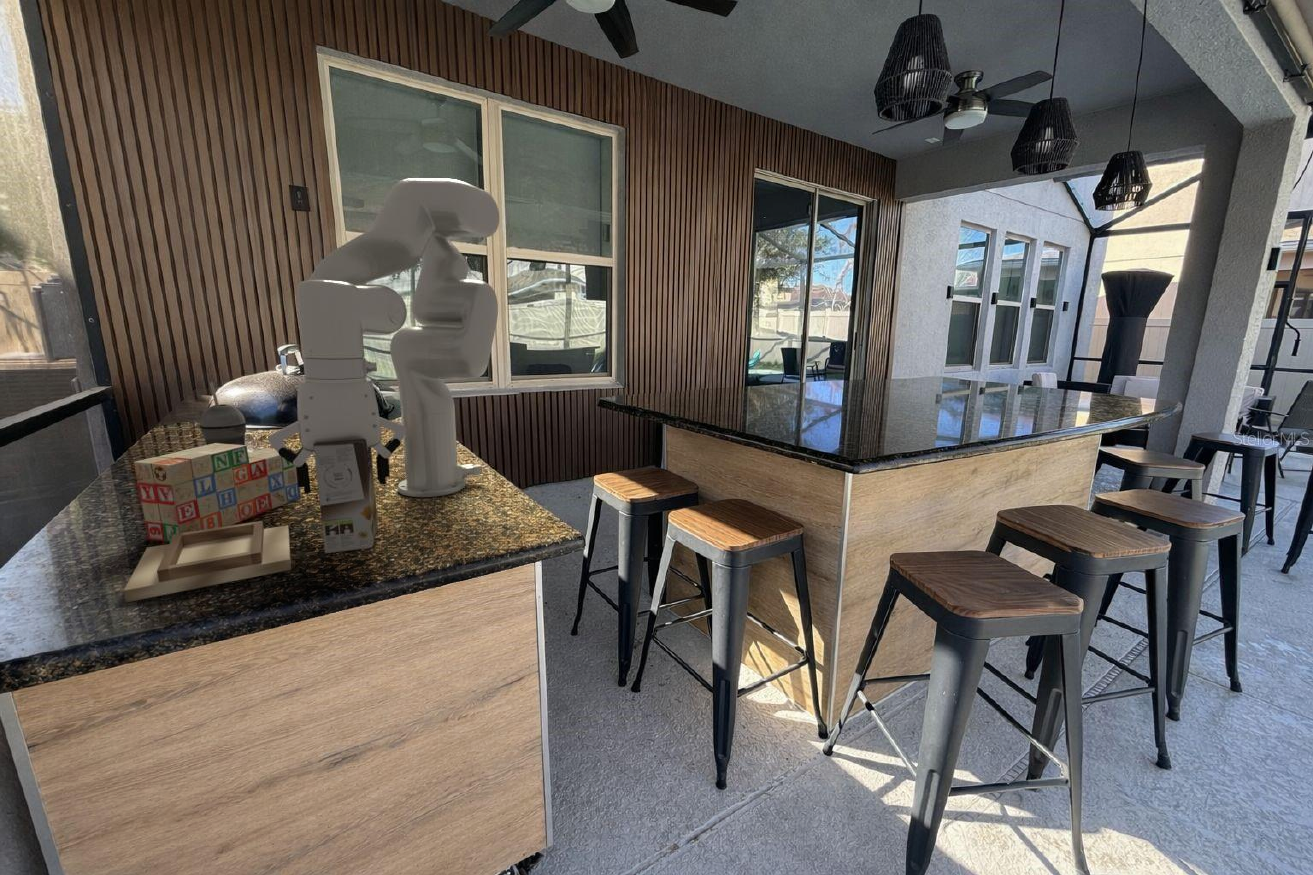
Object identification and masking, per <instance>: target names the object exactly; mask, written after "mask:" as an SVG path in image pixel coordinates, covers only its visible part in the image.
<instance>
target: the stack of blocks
mask: <svg viewBox="0 0 1313 875" xmlns="http://www.w3.org/2000/svg"><path fill="white" fill-rule="evenodd" d="M291 450H292V451H294V452H295V450H293V449H291ZM295 453H296V452H295ZM133 464H134V465H133V466H134V470H135V474H136V486H137V491H138V496H139V497H138V498H139V500H140V502H141V507H142V508H141V509H142V512H143V517H144V524H145V527H146V528H145V529H146V533H147V534H146V535H147V538H148V540H152V541H160V542H167V543H170V541H171V539H172V537H173V535H174V534H178V533H185V532H192V531H198V530H205V529H211V528H218V527H225V526H231V525H236V524H238V523H240V522H242V521H244V520H246V519H250V518H253V517H255V516H257V515H259V514H262V513H265V512H267V511H269V510H273V509H275V508H278V507H281V506H283V505H285V504H289V503H291V502H294V501H296V500H300V499H301V497H302V496H301V487H298V482H297V472H296V466H294V465H293V464H292V463H290V462H289V461H287V460H286V459H284V458H283V457H281V456H280V455H279V453H278V452H277V451H276V450H275V449H274V448H269V447H268V448H267V447H266V448H262V449H257V450H254V451H248V445H246V444H245V445H234V444H220V443H214V444H209V445H207V444H205V445H200V446H196V447H191V448H187V449H183V450H180V451H176V452H171V453H167V454H164V455H158V456H155V457H148V458H145V459H140V460H136V461H134V462H133Z"/></svg>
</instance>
